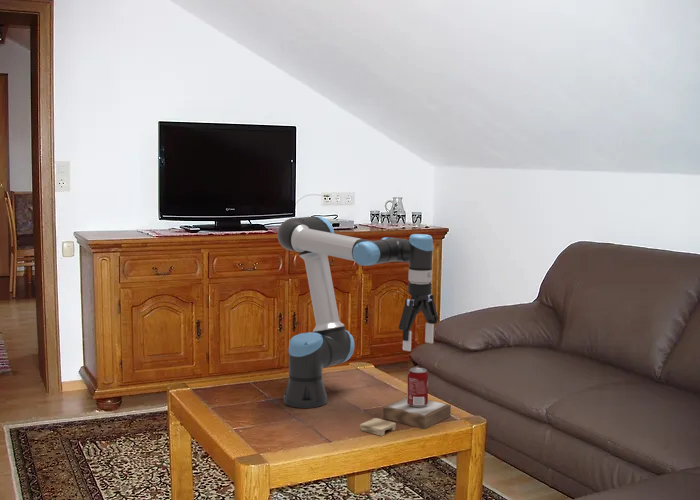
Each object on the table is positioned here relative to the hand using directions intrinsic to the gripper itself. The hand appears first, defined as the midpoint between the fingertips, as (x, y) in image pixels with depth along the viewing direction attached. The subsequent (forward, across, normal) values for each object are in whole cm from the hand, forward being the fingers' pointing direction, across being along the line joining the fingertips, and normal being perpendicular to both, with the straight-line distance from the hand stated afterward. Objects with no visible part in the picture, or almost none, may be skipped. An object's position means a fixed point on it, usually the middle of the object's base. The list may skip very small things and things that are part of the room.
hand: (418, 346), depth 251 cm
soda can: (+20, 0, 0) cm, 20 cm away
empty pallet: (+24, -18, +3) cm, 30 cm away
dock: (+24, 0, 0) cm, 24 cm away
